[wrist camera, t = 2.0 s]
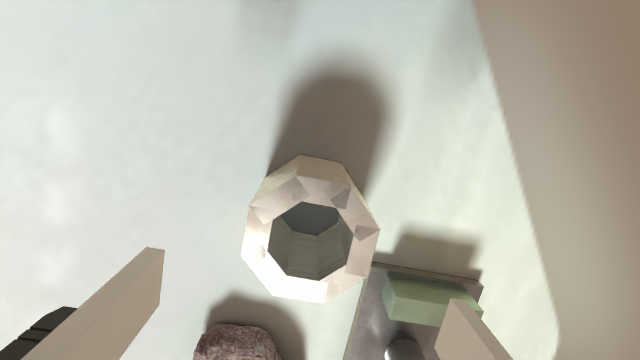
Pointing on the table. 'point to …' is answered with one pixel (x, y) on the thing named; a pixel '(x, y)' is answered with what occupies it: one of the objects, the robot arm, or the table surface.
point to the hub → (305, 249)
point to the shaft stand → (404, 312)
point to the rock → (236, 344)
